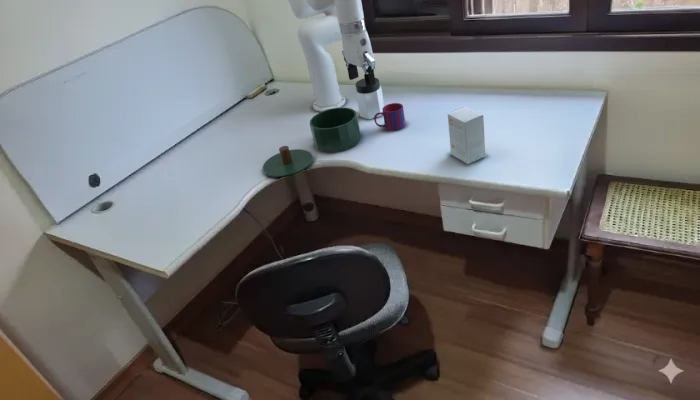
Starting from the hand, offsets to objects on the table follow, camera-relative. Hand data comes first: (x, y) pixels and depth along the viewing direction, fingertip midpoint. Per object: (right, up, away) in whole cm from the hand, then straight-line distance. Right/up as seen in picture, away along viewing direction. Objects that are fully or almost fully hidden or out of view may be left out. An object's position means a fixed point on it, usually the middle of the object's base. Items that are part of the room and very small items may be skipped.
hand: (362, 81), depth 160 cm
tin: (-8, -17, +10) cm, 22 cm away
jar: (+4, -6, +23) cm, 24 cm away
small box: (+30, -24, -12) cm, 40 cm away
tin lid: (-23, -25, +3) cm, 34 cm away
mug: (+10, -13, +12) cm, 20 cm away
